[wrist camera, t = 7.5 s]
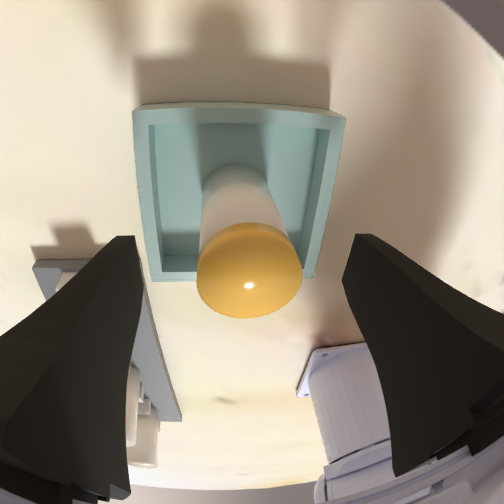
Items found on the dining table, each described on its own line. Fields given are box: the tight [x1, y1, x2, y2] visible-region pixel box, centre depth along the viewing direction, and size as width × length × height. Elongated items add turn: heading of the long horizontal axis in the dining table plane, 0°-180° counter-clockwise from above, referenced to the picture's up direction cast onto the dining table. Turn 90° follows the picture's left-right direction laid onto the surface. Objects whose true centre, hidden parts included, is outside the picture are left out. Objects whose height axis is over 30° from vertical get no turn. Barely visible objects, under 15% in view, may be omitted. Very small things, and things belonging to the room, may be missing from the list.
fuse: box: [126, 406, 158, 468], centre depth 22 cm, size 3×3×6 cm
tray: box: [132, 102, 346, 282], centre depth 13 cm, size 8×8×2 cm
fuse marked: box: [197, 163, 303, 318], centre depth 11 cm, size 3×3×6 cm
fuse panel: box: [32, 258, 182, 432], centre depth 20 cm, size 7×21×2 cm, turn 176°
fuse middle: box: [126, 365, 141, 447], centre depth 18 cm, size 3×3×6 cm
